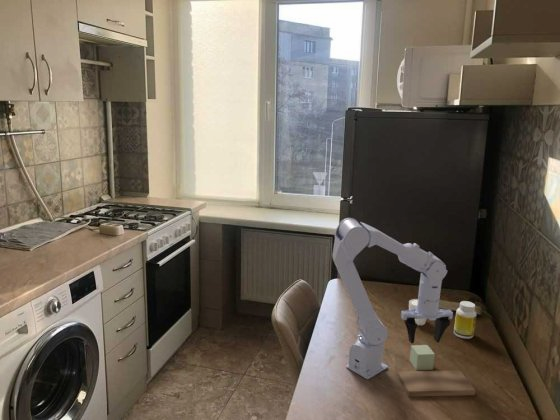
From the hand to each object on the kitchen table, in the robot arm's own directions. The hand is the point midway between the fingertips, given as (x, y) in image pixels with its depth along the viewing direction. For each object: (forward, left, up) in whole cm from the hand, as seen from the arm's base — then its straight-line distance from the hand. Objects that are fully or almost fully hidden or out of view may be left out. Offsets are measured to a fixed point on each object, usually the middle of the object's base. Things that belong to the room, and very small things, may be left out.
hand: (423, 341), depth 134 cm
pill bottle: (+27, +1, -8) cm, 28 cm away
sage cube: (0, 0, -8) cm, 8 cm away
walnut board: (-6, -8, -8) cm, 13 cm away
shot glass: (+23, +16, -8) cm, 29 cm away
